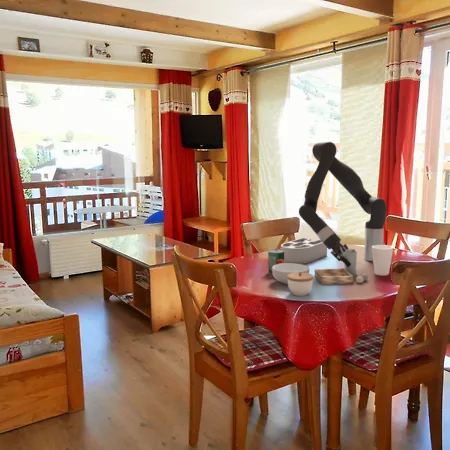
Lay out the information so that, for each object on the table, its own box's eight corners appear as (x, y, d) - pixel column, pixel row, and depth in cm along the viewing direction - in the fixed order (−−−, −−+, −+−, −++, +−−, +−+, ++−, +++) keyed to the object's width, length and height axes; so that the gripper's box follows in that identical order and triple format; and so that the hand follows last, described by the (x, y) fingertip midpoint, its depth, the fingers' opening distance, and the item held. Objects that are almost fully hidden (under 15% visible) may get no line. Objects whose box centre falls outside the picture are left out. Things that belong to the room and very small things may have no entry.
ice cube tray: (327, 255, 264) (327, 240, 262) (301, 266, 243) (301, 249, 241) (301, 252, 274) (301, 237, 273) (274, 261, 253) (274, 246, 252)
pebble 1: (362, 281, 211) (362, 275, 211) (364, 283, 208) (364, 276, 207) (355, 282, 211) (355, 275, 210) (357, 284, 208) (357, 277, 207)
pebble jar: (354, 272, 227) (355, 246, 224) (357, 275, 221) (358, 249, 219) (343, 272, 227) (343, 247, 224) (345, 275, 221) (346, 249, 219)
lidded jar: (284, 290, 201) (284, 269, 200) (309, 289, 202) (309, 268, 201) (290, 298, 191) (290, 275, 189) (316, 296, 192) (316, 274, 190)
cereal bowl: (300, 289, 202) (300, 273, 201) (265, 284, 211) (265, 269, 210) (315, 280, 216) (315, 265, 215) (282, 275, 225) (281, 261, 224)
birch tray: (344, 274, 223) (344, 268, 223) (353, 283, 209) (353, 276, 209) (314, 275, 223) (314, 269, 222) (321, 284, 209) (321, 277, 208)
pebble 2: (366, 279, 214) (366, 273, 214) (368, 281, 211) (369, 274, 210) (359, 280, 214) (359, 273, 213) (361, 282, 211) (362, 275, 210)
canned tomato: (283, 275, 225) (283, 252, 224) (267, 274, 227) (267, 252, 225) (285, 270, 233) (285, 249, 231) (269, 270, 235) (269, 248, 233)
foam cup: (392, 271, 226) (392, 245, 224) (392, 276, 218) (393, 249, 216) (371, 270, 230) (372, 244, 227) (370, 275, 221) (371, 248, 219)
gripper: (327, 235, 220) (351, 263, 215) (340, 230, 231) (363, 256, 226) (317, 245, 224) (340, 272, 219) (330, 239, 235) (352, 266, 230)
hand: (352, 264), depth 223 cm, fingers closed on pebble jar, 5 cm apart
